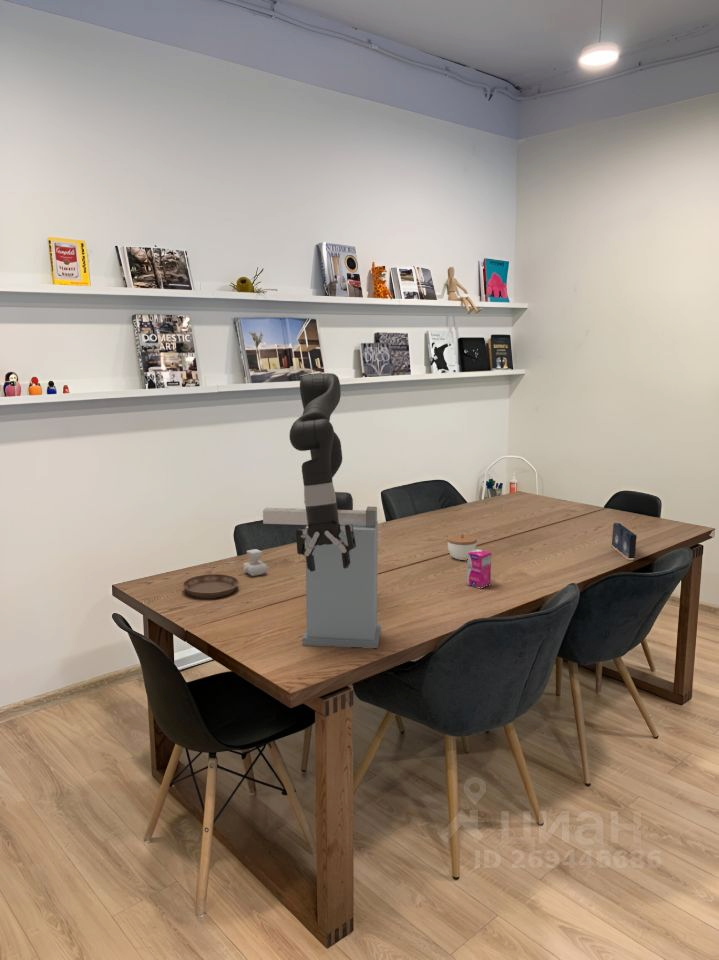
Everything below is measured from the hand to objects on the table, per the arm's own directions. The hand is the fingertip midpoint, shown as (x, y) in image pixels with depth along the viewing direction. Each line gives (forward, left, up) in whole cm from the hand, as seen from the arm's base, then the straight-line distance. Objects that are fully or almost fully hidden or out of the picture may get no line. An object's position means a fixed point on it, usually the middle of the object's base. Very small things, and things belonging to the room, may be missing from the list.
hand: (329, 569), depth 179 cm
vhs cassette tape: (-11, +147, -26) cm, 149 cm away
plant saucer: (-70, +4, -26) cm, 75 cm away
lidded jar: (-45, +94, -26) cm, 108 cm away
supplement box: (-20, +76, -26) cm, 83 cm away
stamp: (-76, +24, -26) cm, 84 cm away
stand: (-13, +14, -26) cm, 32 cm away
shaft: (-17, +10, +6) cm, 21 cm away
